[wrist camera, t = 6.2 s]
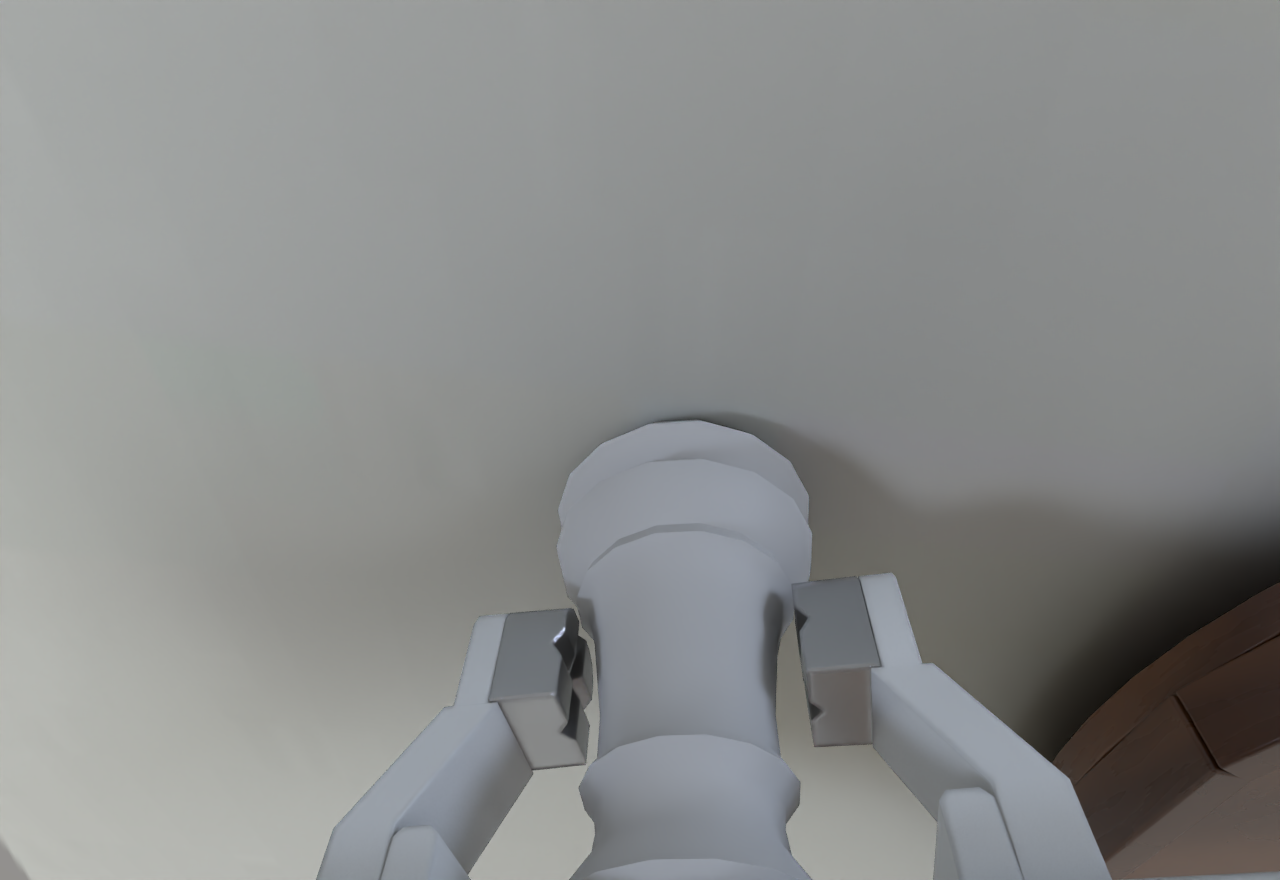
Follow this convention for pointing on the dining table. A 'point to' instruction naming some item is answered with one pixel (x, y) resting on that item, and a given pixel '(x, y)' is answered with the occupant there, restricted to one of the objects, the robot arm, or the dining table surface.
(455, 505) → the dining table surface
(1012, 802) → the robot arm
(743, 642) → the rook chess piece
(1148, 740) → the tray
